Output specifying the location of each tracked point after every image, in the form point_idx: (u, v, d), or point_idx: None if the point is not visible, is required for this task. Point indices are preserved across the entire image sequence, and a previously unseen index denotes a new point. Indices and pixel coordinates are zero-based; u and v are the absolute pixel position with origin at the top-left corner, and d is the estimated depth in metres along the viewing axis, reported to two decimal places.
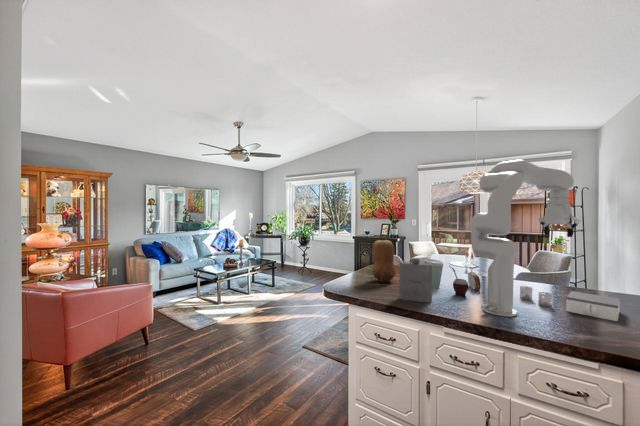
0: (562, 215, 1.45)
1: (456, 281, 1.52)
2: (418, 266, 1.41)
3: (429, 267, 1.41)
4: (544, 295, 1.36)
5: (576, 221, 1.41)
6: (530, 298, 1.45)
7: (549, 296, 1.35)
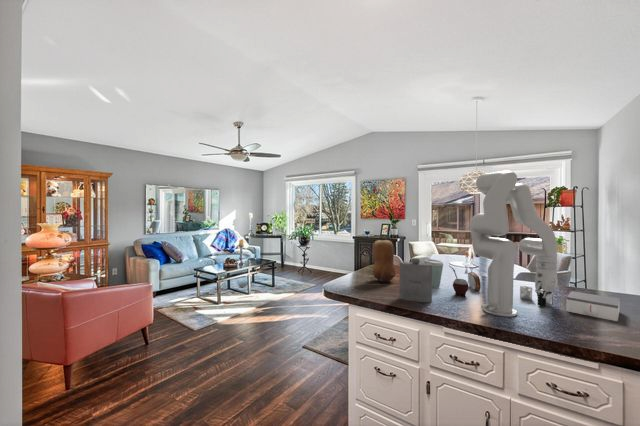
0: (556, 281, 1.36)
1: (456, 281, 1.52)
2: (418, 266, 1.41)
3: (429, 267, 1.41)
4: None
5: None
6: (530, 298, 1.45)
7: (549, 296, 1.35)
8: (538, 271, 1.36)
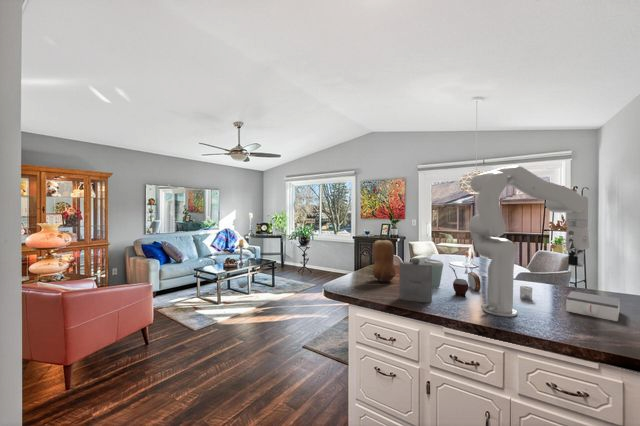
0: (587, 239, 1.33)
1: (456, 281, 1.52)
2: (418, 266, 1.41)
3: (429, 267, 1.41)
4: None
5: None
6: (530, 298, 1.45)
7: (581, 254, 1.32)
8: (569, 229, 1.32)
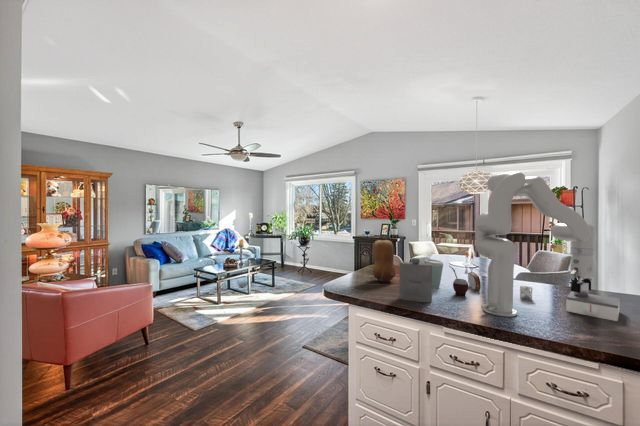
0: (592, 267, 1.32)
1: (456, 281, 1.52)
2: (418, 266, 1.41)
3: (429, 267, 1.41)
4: None
5: None
6: (530, 298, 1.45)
7: (585, 285, 1.31)
8: (574, 257, 1.32)
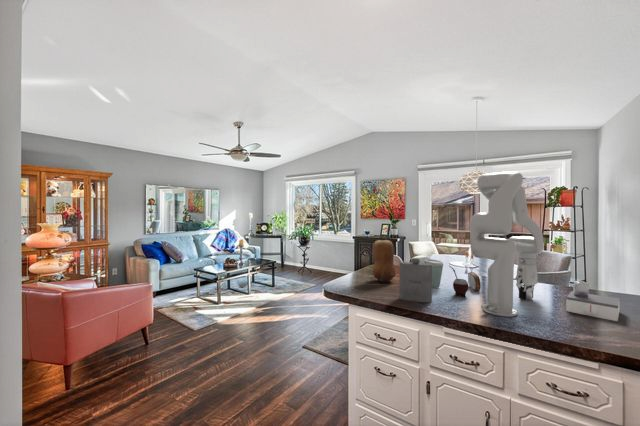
0: (535, 276, 1.46)
1: (456, 281, 1.52)
2: (418, 266, 1.41)
3: (429, 267, 1.41)
4: (580, 284, 1.32)
5: None
6: (530, 298, 1.45)
7: (585, 285, 1.31)
8: (519, 266, 1.46)
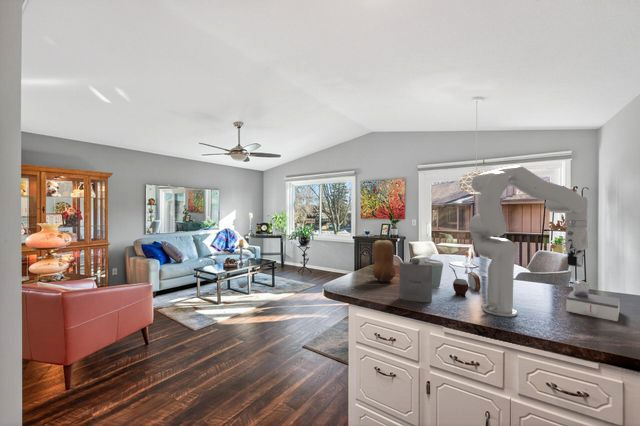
0: (586, 239, 1.34)
1: (456, 281, 1.52)
2: (418, 266, 1.41)
3: (429, 267, 1.41)
4: (580, 284, 1.32)
5: None
6: (581, 264, 1.33)
7: (585, 285, 1.31)
8: (568, 229, 1.33)
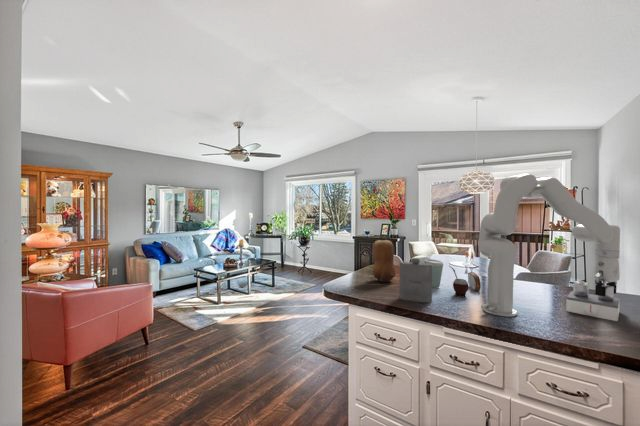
0: (618, 270, 1.26)
1: (456, 281, 1.52)
2: (418, 266, 1.41)
3: (429, 267, 1.41)
4: (580, 284, 1.32)
5: None
6: (612, 298, 1.25)
7: (585, 285, 1.31)
8: (599, 260, 1.26)
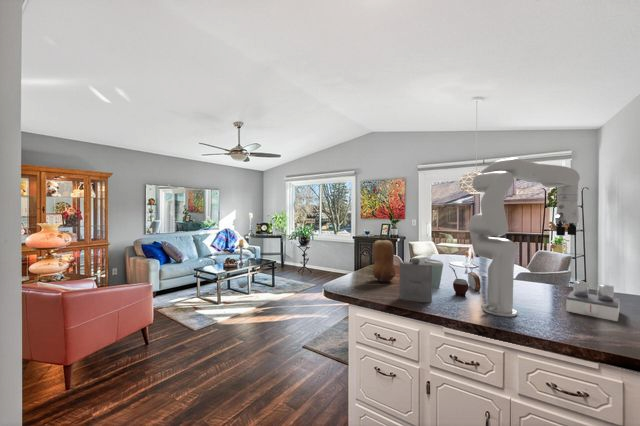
0: (577, 213, 1.39)
1: (456, 281, 1.52)
2: (418, 266, 1.41)
3: (429, 267, 1.41)
4: (580, 284, 1.32)
5: None
6: (612, 298, 1.26)
7: (585, 285, 1.31)
8: (559, 203, 1.39)
